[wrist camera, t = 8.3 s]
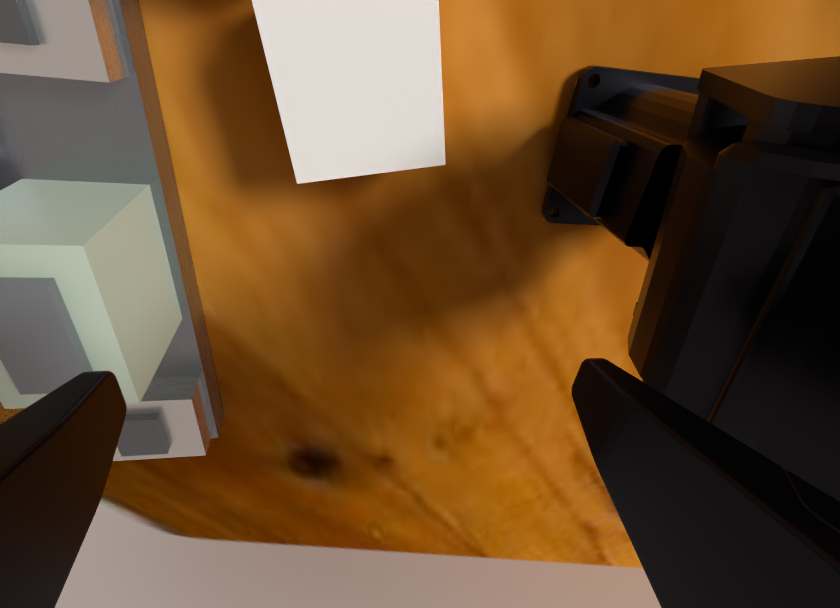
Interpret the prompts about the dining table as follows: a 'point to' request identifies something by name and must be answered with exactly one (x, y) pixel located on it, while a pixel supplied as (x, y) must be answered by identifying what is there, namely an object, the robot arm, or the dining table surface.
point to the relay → (356, 84)
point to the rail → (109, 178)
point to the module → (81, 287)
